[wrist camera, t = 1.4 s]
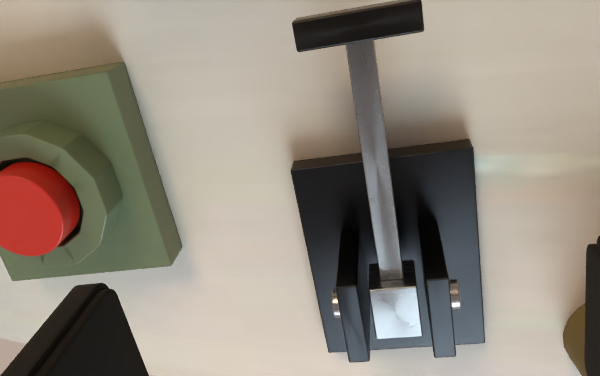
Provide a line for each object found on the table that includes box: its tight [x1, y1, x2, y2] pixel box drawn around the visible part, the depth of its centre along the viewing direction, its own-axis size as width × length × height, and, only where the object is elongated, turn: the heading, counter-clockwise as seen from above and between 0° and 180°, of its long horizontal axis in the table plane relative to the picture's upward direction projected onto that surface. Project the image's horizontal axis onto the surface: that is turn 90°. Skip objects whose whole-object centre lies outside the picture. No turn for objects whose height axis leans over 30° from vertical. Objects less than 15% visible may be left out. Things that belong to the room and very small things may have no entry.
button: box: [0, 162, 80, 256], centre depth 27 cm, size 4×4×2 cm
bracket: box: [291, 139, 485, 362], centre depth 28 cm, size 12×9×6 cm
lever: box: [292, 0, 424, 339], centre depth 25 cm, size 15×5×2 cm, turn 10°
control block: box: [0, 62, 182, 281], centre depth 29 cm, size 11×10×4 cm
